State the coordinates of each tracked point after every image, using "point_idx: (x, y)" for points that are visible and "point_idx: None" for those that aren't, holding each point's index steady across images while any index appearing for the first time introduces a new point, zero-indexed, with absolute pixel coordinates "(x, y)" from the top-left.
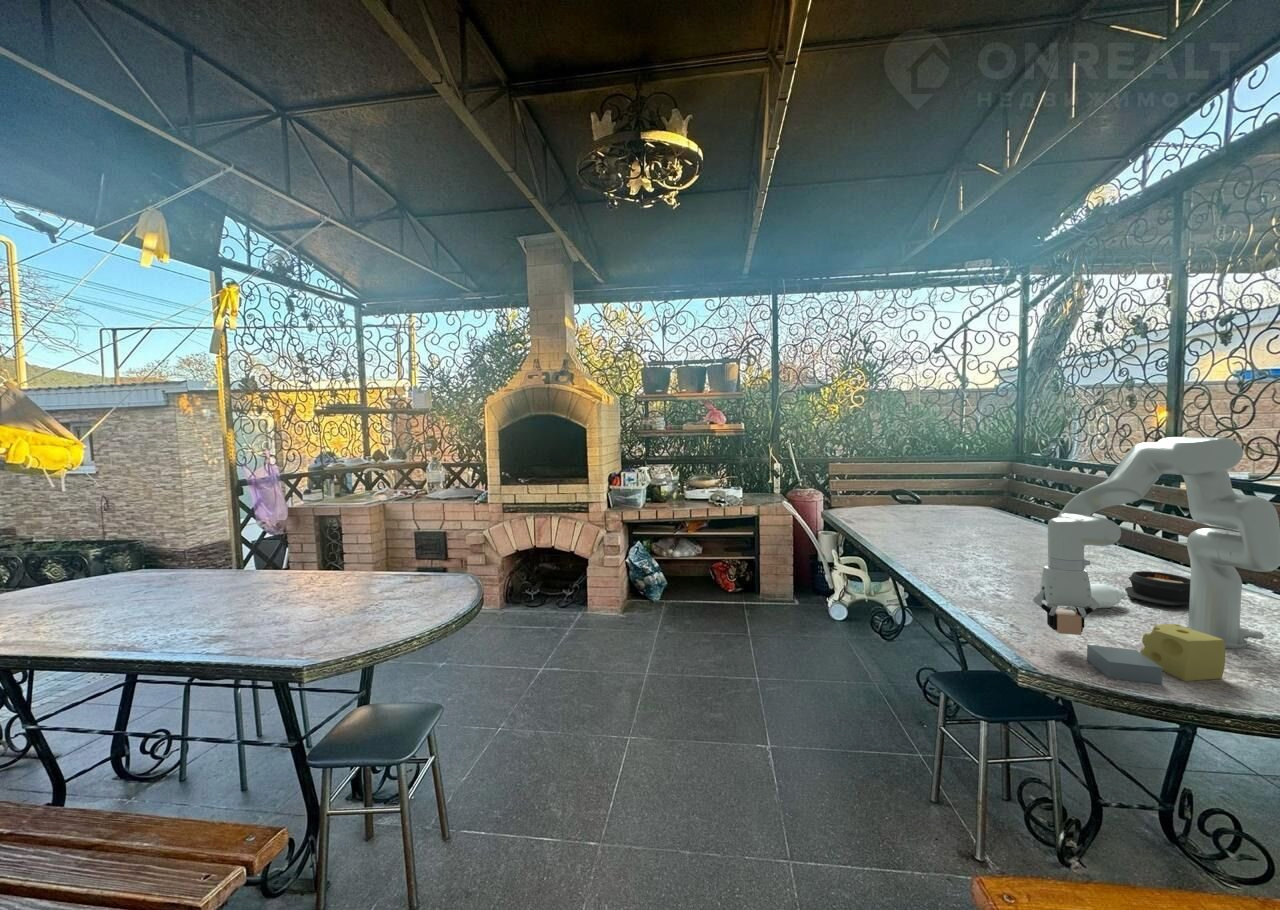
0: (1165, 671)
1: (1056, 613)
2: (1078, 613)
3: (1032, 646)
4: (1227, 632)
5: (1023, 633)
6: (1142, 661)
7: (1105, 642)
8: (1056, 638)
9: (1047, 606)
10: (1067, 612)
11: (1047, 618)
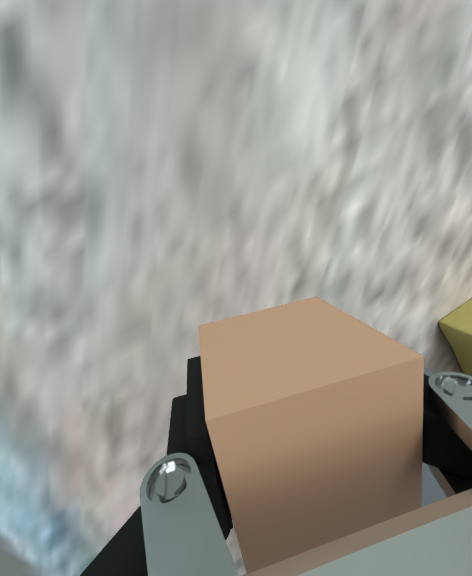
0: (464, 372)
1: (240, 539)
2: (435, 449)
3: (118, 375)
4: None
5: (83, 201)
6: (434, 497)
7: (413, 150)
8: (233, 200)
9: (158, 569)
10: (351, 458)
11: (171, 428)
